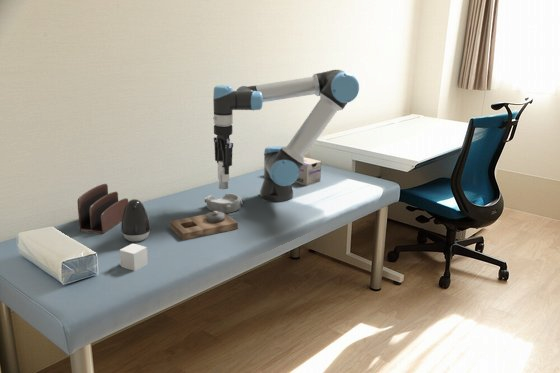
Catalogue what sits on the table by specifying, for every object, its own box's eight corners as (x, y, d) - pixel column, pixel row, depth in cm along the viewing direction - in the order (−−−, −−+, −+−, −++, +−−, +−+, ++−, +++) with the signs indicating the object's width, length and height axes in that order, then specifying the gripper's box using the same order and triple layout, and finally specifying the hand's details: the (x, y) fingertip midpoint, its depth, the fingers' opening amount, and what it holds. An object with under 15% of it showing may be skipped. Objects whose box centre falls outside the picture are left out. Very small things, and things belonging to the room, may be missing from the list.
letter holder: (79, 231, 195) (75, 196, 190) (107, 213, 213) (105, 180, 209) (103, 234, 192) (100, 198, 188) (130, 216, 211) (127, 182, 207)
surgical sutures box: (320, 181, 262) (321, 161, 258) (306, 186, 254) (307, 165, 251) (283, 171, 278) (284, 152, 274) (269, 175, 270) (270, 155, 267)
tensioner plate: (221, 218, 210) (221, 203, 208) (237, 229, 199) (237, 214, 197) (169, 228, 199) (168, 213, 197) (183, 241, 188) (182, 225, 186)
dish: (200, 208, 222) (200, 197, 220) (225, 200, 231) (225, 190, 230) (222, 217, 212) (222, 205, 210) (247, 209, 221) (247, 198, 220)
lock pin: (225, 185, 221) (225, 159, 218) (229, 188, 218) (229, 161, 215) (217, 187, 219) (216, 160, 216) (221, 189, 216) (221, 162, 212)
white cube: (133, 259, 173) (132, 243, 171) (147, 264, 170) (146, 247, 169) (120, 266, 168) (119, 249, 166) (134, 271, 165) (133, 253, 163)
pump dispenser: (122, 246, 183) (118, 205, 178) (121, 234, 192) (119, 196, 187) (151, 243, 185) (149, 203, 181) (150, 232, 195) (148, 194, 190)
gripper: (206, 121, 215) (206, 176, 222) (223, 129, 202) (224, 186, 209) (222, 120, 219) (222, 173, 226) (241, 127, 206) (240, 184, 213)
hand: (223, 179), depth 218 cm, fingers closed on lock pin, 3 cm apart
